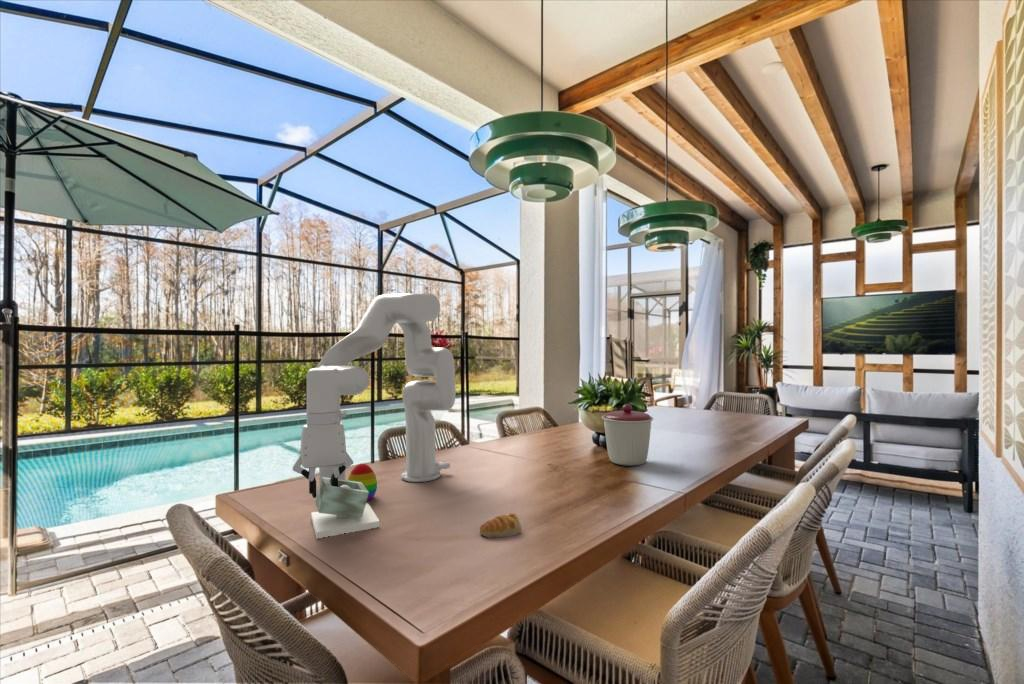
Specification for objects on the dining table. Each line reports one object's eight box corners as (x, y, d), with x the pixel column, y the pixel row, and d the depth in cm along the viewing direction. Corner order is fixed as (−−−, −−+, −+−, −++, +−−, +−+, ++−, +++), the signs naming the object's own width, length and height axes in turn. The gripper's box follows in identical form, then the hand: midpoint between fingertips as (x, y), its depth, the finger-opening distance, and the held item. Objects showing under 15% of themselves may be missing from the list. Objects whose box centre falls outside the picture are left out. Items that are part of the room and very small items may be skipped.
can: (313, 489, 143) (313, 449, 143) (331, 482, 150) (331, 444, 150) (333, 492, 140) (332, 451, 140) (350, 484, 147) (350, 446, 147)
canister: (623, 471, 159) (622, 409, 159) (592, 459, 175) (592, 402, 175) (664, 465, 166) (664, 405, 166) (631, 454, 183) (631, 400, 183)
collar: (355, 505, 122) (361, 482, 123) (362, 517, 113) (368, 492, 114) (314, 500, 117) (321, 476, 118) (318, 512, 109) (326, 486, 109)
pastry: (486, 542, 104) (486, 525, 104) (474, 532, 110) (474, 515, 110) (524, 534, 109) (523, 517, 109) (510, 524, 115) (510, 508, 115)
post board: (368, 508, 125) (367, 474, 125) (379, 527, 113) (379, 488, 113) (311, 518, 119) (310, 481, 119) (316, 539, 107) (316, 498, 106)
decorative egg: (373, 503, 130) (373, 467, 130) (343, 504, 129) (342, 468, 129) (379, 494, 138) (379, 459, 138) (351, 494, 137) (351, 460, 137)
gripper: (356, 414, 121) (357, 485, 121) (284, 419, 113) (285, 495, 113) (361, 418, 114) (362, 494, 114) (285, 423, 107) (286, 505, 107)
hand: (323, 494), depth 114 cm, fingers open, 3 cm apart
